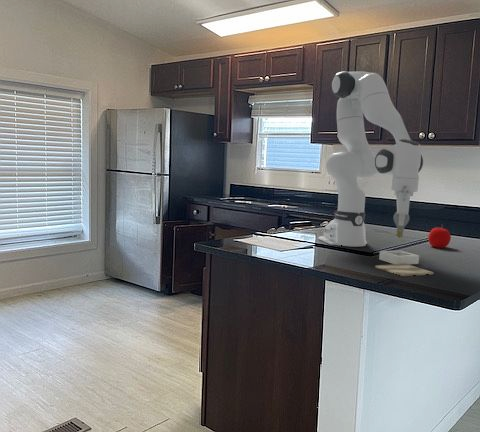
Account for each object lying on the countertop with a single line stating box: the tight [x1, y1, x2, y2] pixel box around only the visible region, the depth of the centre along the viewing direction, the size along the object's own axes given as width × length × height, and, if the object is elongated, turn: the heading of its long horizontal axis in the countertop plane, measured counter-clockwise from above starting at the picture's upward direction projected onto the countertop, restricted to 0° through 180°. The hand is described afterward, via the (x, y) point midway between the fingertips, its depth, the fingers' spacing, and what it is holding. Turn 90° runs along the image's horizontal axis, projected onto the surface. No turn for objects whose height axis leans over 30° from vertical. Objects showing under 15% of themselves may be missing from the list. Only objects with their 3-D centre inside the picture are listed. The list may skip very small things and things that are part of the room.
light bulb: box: [393, 211, 410, 239], centre depth 172 cm, size 6×6×10 cm
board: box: [374, 263, 435, 277], centre depth 159 cm, size 13×13×1 cm
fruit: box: [427, 224, 452, 249], centre depth 207 cm, size 9×9×10 cm
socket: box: [378, 249, 420, 265], centre depth 173 cm, size 10×10×3 cm
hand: (400, 224), depth 172 cm, fingers closed on light bulb, 5 cm apart
